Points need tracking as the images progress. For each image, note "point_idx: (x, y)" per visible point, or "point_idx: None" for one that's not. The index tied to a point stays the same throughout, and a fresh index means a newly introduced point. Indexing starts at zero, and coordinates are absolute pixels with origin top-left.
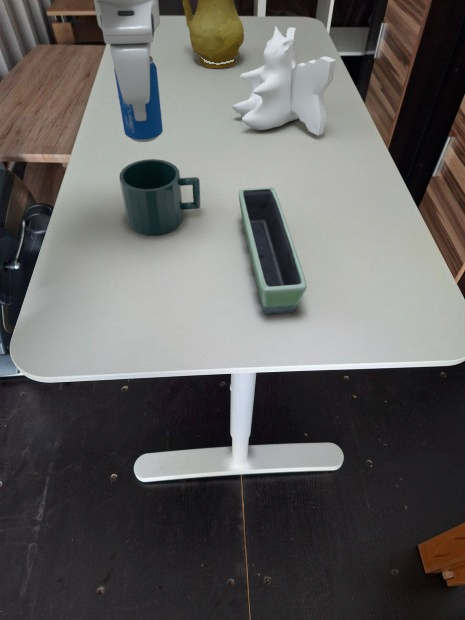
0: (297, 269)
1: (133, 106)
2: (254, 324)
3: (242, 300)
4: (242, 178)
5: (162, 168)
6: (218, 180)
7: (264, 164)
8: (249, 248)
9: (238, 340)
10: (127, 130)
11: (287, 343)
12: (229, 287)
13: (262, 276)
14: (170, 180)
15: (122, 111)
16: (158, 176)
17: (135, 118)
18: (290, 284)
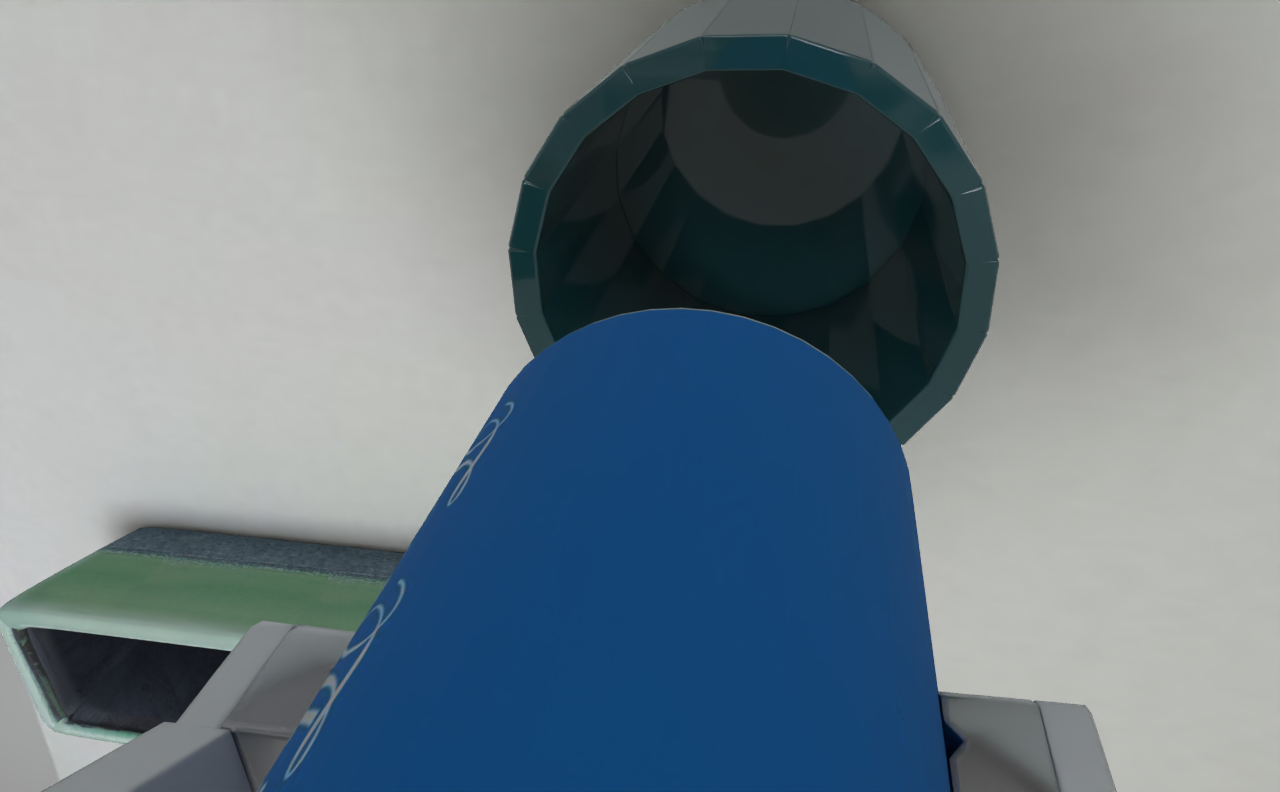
0: (128, 732)
1: (83, 780)
2: (92, 485)
3: (194, 474)
4: (1073, 664)
5: (913, 365)
6: (1095, 556)
7: (1180, 783)
8: (359, 593)
9: (12, 424)
10: (522, 386)
11: (40, 554)
12: (254, 445)
13: (57, 628)
14: (859, 372)
15: (494, 495)
16: (928, 299)
17: (248, 634)
18: (181, 660)
